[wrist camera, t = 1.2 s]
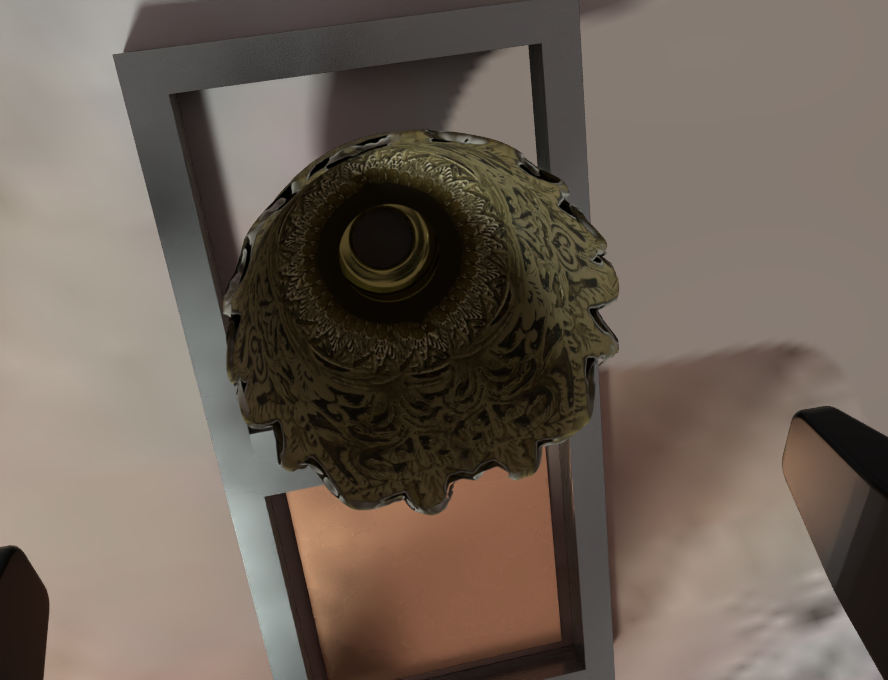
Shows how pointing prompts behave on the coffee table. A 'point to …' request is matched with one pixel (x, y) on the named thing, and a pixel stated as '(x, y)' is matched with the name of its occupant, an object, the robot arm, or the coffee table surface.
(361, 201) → the bronze ornate bell
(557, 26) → the grey double frame
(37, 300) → the coffee table surface
